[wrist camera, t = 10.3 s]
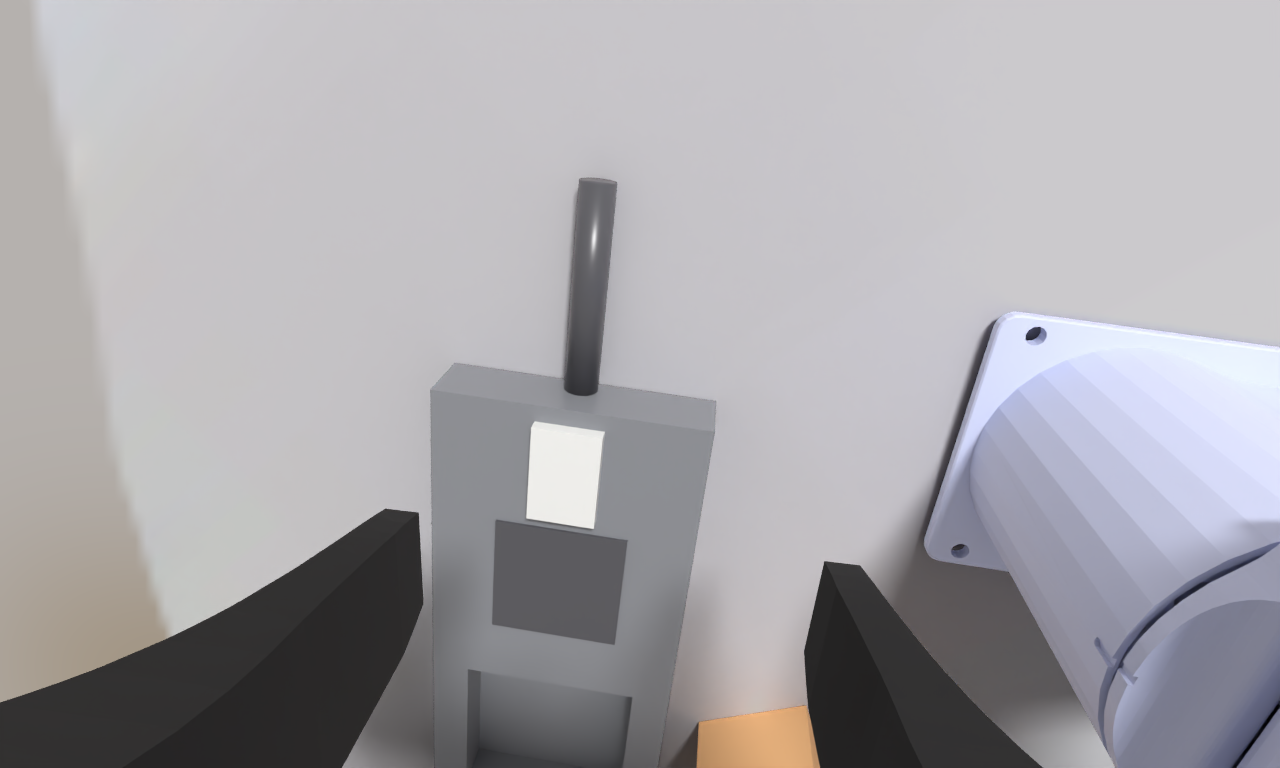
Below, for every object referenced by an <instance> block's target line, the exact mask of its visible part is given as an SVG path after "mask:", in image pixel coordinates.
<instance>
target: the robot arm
mask: <svg viewBox="0 0 1280 768" xmlns="http://www.w3.org/2000/svg"><path fill="white" fill-rule="evenodd" d="M1033 327H1041V333H1040V334H1039V336H1038V337H1037V338H1035V339H1034V340H1028V341H1027V340H1025V338H1026V334H1027V332H1028V331H1029V330H1030V329H1032V328H1033ZM957 544H964V545H965V546H964V547H963V548H962V549H960V550H952V548H953V547H954V546H955V545H957ZM924 546H925V549H926V551H927V553H928V555H929V556H930V557H931V558H932V559H934V560H937V561H943V562H949V563H955V564H962V565H968V566H974V567H981V568H987V569H994V570H1000V571H1006V572H1009V573H1010V575H1011V577H1012V578H1013V580H1014V582H1015V584H1016V586H1017V588H1018V589H1019V591H1020V593H1021V595H1022V597H1023V599H1024V600H1025V602H1026V604H1027V606H1028V608H1029V609H1030V611H1031V613H1032V615H1033V617H1034V619H1035V620H1036V622H1037V624H1038V626H1039V628H1040V630H1041V631H1042V633H1043V635H1044V637H1045V639H1046V641H1047V642H1048V644H1049V646H1050V648H1051V650H1052V652H1053V653H1054V655H1055V657H1056V659H1057V661H1058V662H1059V664H1060V666H1061V668H1062V670H1063V672H1064V673H1065V675H1066V677H1067V679H1068V681H1069V683H1070V684H1071V686H1072V688H1073V690H1074V692H1075V694H1076V695H1077V697H1078V699H1079V701H1080V703H1081V705H1082V706H1083V708H1084V710H1085V712H1086V714H1087V715H1088V717H1089V719H1090V721H1091V723H1092V725H1093V726H1094V728H1095V730H1096V732H1097V734H1098V736H1099V737H1100V739H1101V741H1102V743H1103V745H1104V747H1105V748H1106V750H1107V752H1108V754H1109V756H1110V758H1111V759H1112V761H1113V764H1114V766H1115V768H1280V347H1274V346H1267V345H1260V344H1252V343H1245V342H1238V341H1230V340H1223V339H1215V338H1208V337H1201V336H1193V335H1186V334H1179V333H1171V332H1164V331H1157V330H1149V329H1142V328H1134V327H1127V326H1120V325H1112V324H1105V323H1098V322H1090V321H1083V320H1076V319H1068V318H1061V317H1054V316H1046V315H1039V314H1031V313H1024V312H1009V313H1007V314H1004V315H1002V316H1001V317H1000V318H999V319H998V320H997V321H996V323H995V325H994V326H993V329H992V332H991V335H990V339H989V342H988V345H987V348H986V351H985V354H984V357H983V360H982V363H981V366H980V369H979V372H978V375H977V378H976V382H975V385H974V388H973V391H972V394H971V397H970V400H969V403H968V406H967V409H966V412H965V415H964V418H963V422H962V425H961V428H960V431H959V434H958V437H957V440H956V443H955V446H954V449H953V452H952V455H951V458H950V461H949V465H948V468H947V471H946V474H945V477H944V480H943V483H942V486H941V489H940V492H939V495H938V498H937V501H936V505H935V508H934V511H933V514H932V517H931V520H930V523H929V526H928V529H927V532H926V535H925V538H924ZM422 606H423V588H422V568H421V549H420V530H419V513H417V512H408V511H400V510H391V509H384V510H383V511H381V512H379V513H378V514H376V515H375V516H373V517H372V518H370V519H369V520H367V521H366V522H364V523H363V524H361V525H360V526H358V527H357V528H355V529H354V530H352V531H351V532H349V533H348V534H346V535H345V536H343V537H342V538H340V539H339V540H337V541H336V542H334V543H333V544H332V545H330V546H328V547H327V548H325V549H324V550H322V551H321V552H319V553H318V554H316V555H315V556H313V557H312V558H310V559H309V560H307V561H306V562H304V563H303V564H301V565H300V566H298V567H297V568H295V569H293V570H292V571H290V572H289V573H287V574H285V575H284V576H282V577H280V578H278V579H277V580H275V581H273V582H272V583H270V584H268V585H267V586H265V587H263V588H262V589H260V590H258V591H257V592H255V593H253V594H252V595H250V596H248V597H247V598H245V599H243V600H242V601H240V602H238V603H236V604H235V605H233V606H231V607H229V608H227V609H225V610H224V611H222V612H220V613H218V614H216V615H214V616H212V617H210V618H208V619H206V620H204V621H202V622H200V623H198V624H196V625H194V626H192V627H190V628H188V629H186V630H184V631H182V632H180V633H178V634H176V635H174V636H172V637H170V638H168V639H165V640H163V641H161V642H159V643H156V644H154V645H151V646H150V647H147V648H144V649H142V650H140V651H138V652H135V653H133V654H130V655H128V656H126V657H123V658H121V659H119V660H116V661H114V662H112V663H109V664H107V665H105V666H102V667H100V668H97V669H95V670H92V671H89V672H87V673H84V674H81V675H79V676H76V677H73V678H70V679H68V680H65V681H63V682H60V683H57V684H54V685H51V686H48V687H46V688H43V689H39V690H37V691H34V692H31V693H28V694H25V695H22V696H19V697H16V698H13V699H10V700H7V701H3V702H1V703H0V768H342V766H343V765H344V763H345V761H346V759H347V757H348V755H349V754H350V752H351V750H352V748H353V746H354V745H355V743H356V741H357V739H358V737H359V735H360V734H361V732H362V730H363V728H364V726H365V725H366V723H367V721H368V719H369V717H370V716H371V714H372V712H373V710H374V708H375V706H376V705H377V703H378V701H379V699H380V697H381V696H382V694H383V692H384V690H385V688H386V686H387V684H388V683H389V681H390V679H391V677H392V675H393V673H394V672H395V670H396V668H397V666H398V664H399V662H400V660H401V658H402V656H403V654H404V652H405V650H406V647H407V645H408V642H409V640H410V637H411V635H412V632H413V630H414V627H415V624H416V622H417V619H418V616H419V614H420V611H421V608H422ZM804 656H805V672H806V686H807V698H808V708H809V714H810V719H811V724H812V729H813V734H814V740H815V745H816V750H817V755H818V760H819V765H820V768H1042V767H1041V766H1040V765H1039V764H1038V763H1037V762H1036V761H1034V760H1033V759H1032V758H1031V757H1030V756H1029V755H1028V754H1026V753H1025V752H1024V751H1023V750H1022V749H1021V748H1020V747H1019V746H1018V745H1017V744H1016V743H1014V742H1013V741H1012V740H1011V739H1010V738H1009V737H1008V736H1007V735H1006V734H1005V733H1004V732H1003V731H1002V730H1001V729H1000V728H999V727H997V726H996V725H995V724H994V723H993V722H992V721H991V720H990V719H989V718H988V717H987V716H986V715H985V714H984V713H983V712H982V711H981V710H980V709H979V708H978V707H977V706H976V705H975V704H974V703H973V702H972V701H971V700H970V699H969V698H968V697H967V696H966V694H965V693H964V692H963V691H962V690H961V689H960V688H959V687H958V686H957V685H956V684H955V683H954V681H953V680H952V679H951V678H950V677H949V676H948V675H947V674H946V673H945V672H944V671H943V669H942V668H941V667H940V666H939V665H938V664H937V662H936V661H935V660H934V659H933V658H932V657H931V656H930V654H929V653H928V652H927V651H926V649H925V648H924V647H923V646H922V645H921V643H920V642H919V641H918V640H917V639H916V637H915V636H914V635H913V634H912V632H911V631H910V630H909V629H908V627H907V626H906V625H905V624H904V622H903V621H902V620H901V618H900V617H899V616H898V615H897V613H896V612H895V611H894V609H893V608H892V607H891V606H890V604H889V603H888V602H887V600H886V599H885V598H884V596H883V595H882V594H881V592H880V591H879V590H878V588H877V587H876V586H875V584H874V583H873V582H872V580H871V579H870V578H869V577H868V575H867V574H866V573H865V571H864V570H863V569H862V568H861V566H859V565H851V564H843V563H834V562H826V561H824V566H823V570H822V575H821V579H820V584H819V588H818V592H817V597H816V601H815V606H814V610H813V615H812V619H811V623H810V628H809V632H808V637H807V641H806V645H805V650H804Z"/></svg>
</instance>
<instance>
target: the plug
mask: <svg viewBox="0 0 1280 768" xmlns="http://www.w3.org/2000/svg"><path fill="white" fill-rule="evenodd" d="M697 768H820V765H819V760H818V755H817V750H816V745H815V740H814V734H813V729H812V724H811V719H810V716H809V713H808V710H807V707H806V705H805V706H798V707H792V708H785V709H779V710H773V711H766V712H760V713H753V714H747V715H740V716H734V717H727V718H721V719H714V720H708V721H701V722H699V728H698V749H697Z"/></svg>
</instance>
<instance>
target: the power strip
mask: <svg viewBox="0 0 1280 768" xmlns="http://www.w3.org/2000/svg"><path fill="white" fill-rule="evenodd" d="M616 191H617V183H616V182H614V181H611V180H606V179H600V178H580V179H579V188H578V201H577V215H576V229H575V243H574V257H573V271H572V284H571V298H570V312H569V326H568V340H567V354H566V367H565V379H561V378H554V377H547V376H540V375H533V374H526V373H520V372H513V371H506V370H499V369H492V368H485V367H479V366H472V365H465V364H458V363H454V365H453V366H452V367H451V368H450V369H449V370H448V371H447V372H446V373H445V374H444V375H443V377H442V378H441V379H440V380H439V381H438V382H437V383H436V384H435V385H434V386H433V387H432V389H431V390H430V395H431V492H432V589H433V686H434V768H658V763H659V757H660V751H661V745H662V739H663V733H664V728H665V722H666V716H667V710H668V704H669V698H670V692H671V686H672V681H673V675H674V669H675V663H676V657H677V651H678V645H679V639H680V633H681V628H682V622H683V616H684V610H685V604H686V598H687V592H688V586H689V581H690V575H691V569H692V563H693V557H694V551H695V545H696V539H697V534H698V528H699V522H700V516H701V510H702V504H703V498H704V492H705V486H706V481H707V475H708V469H709V463H710V457H711V451H712V445H713V439H714V434H715V415H716V401H711V400H704V399H697V398H690V397H683V396H677V395H670V394H663V393H656V392H649V391H642V390H636V389H629V388H622V387H615V386H608V385H601V384H599V373H600V363H601V352H602V341H603V331H604V320H605V309H606V298H607V288H608V277H609V266H610V256H611V245H612V234H613V223H614V213H615V202H616Z"/></svg>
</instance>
